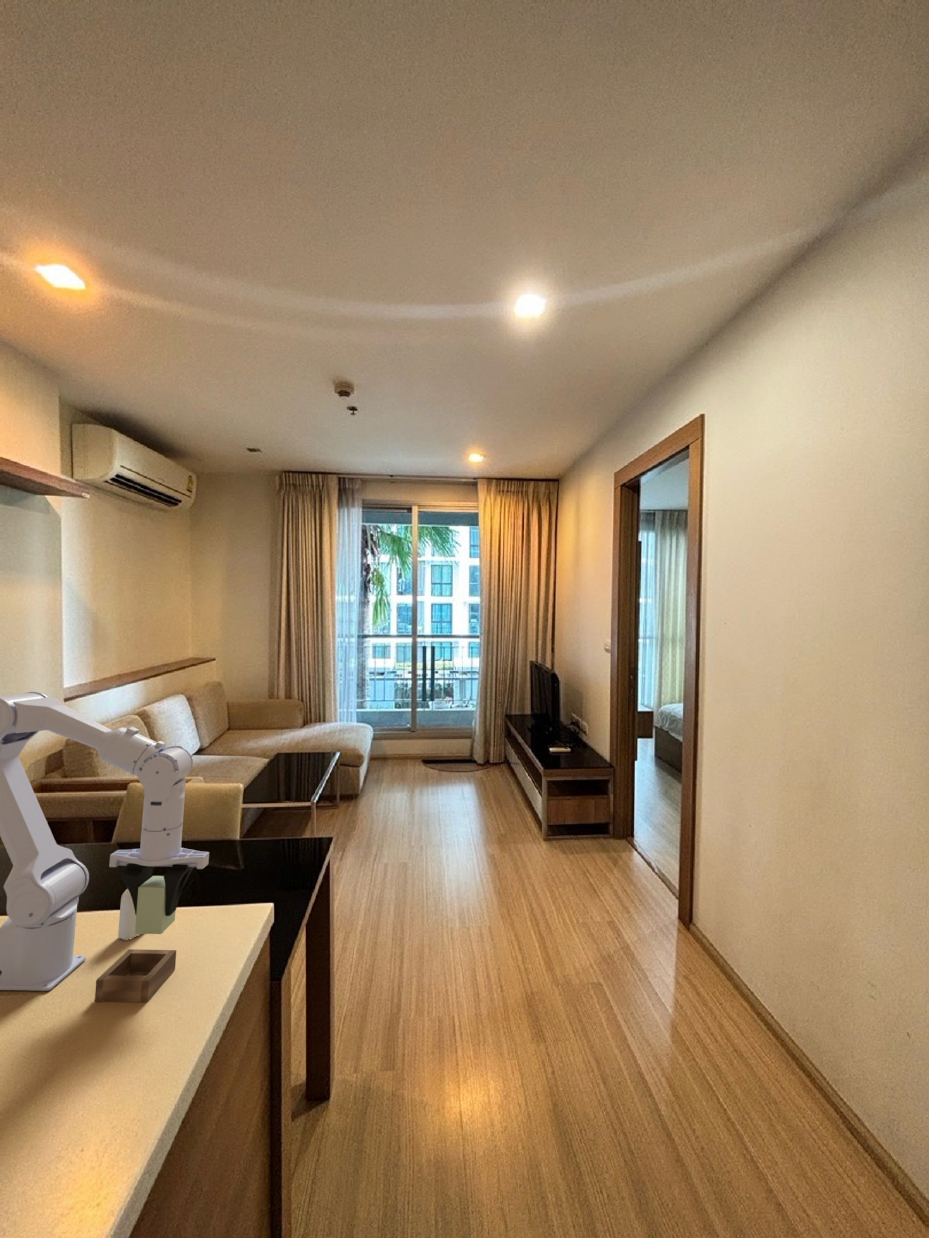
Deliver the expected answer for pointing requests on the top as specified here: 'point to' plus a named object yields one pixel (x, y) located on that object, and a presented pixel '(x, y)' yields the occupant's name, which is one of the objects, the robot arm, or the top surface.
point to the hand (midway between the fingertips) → (156, 912)
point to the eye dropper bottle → (127, 917)
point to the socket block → (135, 988)
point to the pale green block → (152, 907)
